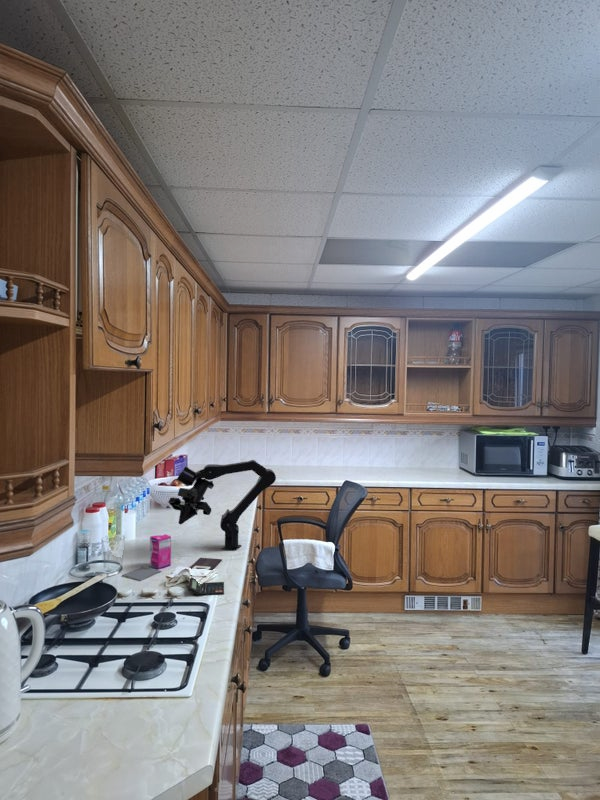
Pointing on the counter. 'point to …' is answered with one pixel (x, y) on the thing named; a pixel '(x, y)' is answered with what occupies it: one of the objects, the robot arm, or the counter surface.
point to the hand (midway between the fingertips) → (179, 523)
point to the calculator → (206, 588)
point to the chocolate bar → (206, 563)
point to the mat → (141, 573)
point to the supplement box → (160, 551)
